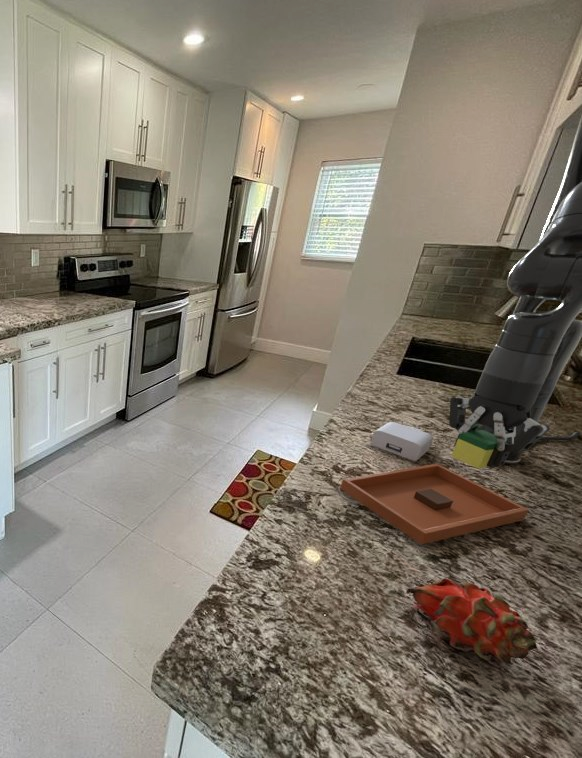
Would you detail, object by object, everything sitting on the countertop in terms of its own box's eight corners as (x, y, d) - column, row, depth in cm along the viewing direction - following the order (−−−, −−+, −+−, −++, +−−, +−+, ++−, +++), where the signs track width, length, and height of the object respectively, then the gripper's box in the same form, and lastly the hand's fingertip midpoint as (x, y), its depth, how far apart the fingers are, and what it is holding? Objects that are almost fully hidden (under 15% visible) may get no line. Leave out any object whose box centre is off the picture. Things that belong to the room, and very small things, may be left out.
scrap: (428, 494, 80) (430, 488, 80) (450, 507, 77) (453, 501, 76) (413, 497, 79) (415, 491, 79) (435, 510, 76) (438, 504, 75)
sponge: (472, 452, 80) (482, 429, 78) (500, 465, 76) (511, 441, 74) (450, 456, 78) (460, 432, 77) (478, 468, 74) (488, 444, 72)
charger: (435, 445, 101) (415, 463, 92) (392, 430, 108) (369, 446, 99) (442, 428, 99) (422, 445, 91) (397, 414, 106) (374, 428, 98)
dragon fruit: (527, 692, 48) (399, 632, 57) (536, 621, 51) (413, 575, 60) (541, 676, 43) (398, 613, 52) (549, 599, 46) (414, 552, 55)
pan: (432, 474, 88) (436, 463, 87) (522, 522, 74) (529, 509, 74) (339, 491, 82) (342, 479, 81) (419, 547, 68) (425, 533, 67)
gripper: (584, 387, 66) (537, 478, 72) (480, 360, 78) (448, 439, 84) (554, 390, 64) (508, 483, 70) (452, 362, 76) (421, 443, 82)
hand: (475, 458), depth 77 cm, fingers closed on sponge, 4 cm apart
